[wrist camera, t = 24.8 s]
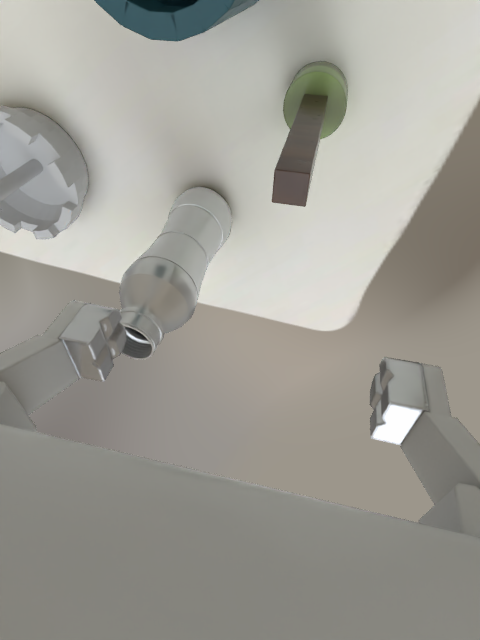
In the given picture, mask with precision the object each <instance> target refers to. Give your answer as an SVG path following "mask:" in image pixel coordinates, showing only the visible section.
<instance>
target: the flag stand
mask: <svg viewBox="0 0 480 640" xmlns="http://www.w3.org/2000/svg"><path fill="white" fill-rule="evenodd" d="M88 184H89V182H88V172H87V167H86V164H85V161H84V159H83V156H82V154H81V152H80V151H79V149H78V147H77V145H76V144H75V143H74V141H73V140H72V139H71V137H70V136H69V135H68V134H67V133H66V132H65V131H64V130H63V129H62V128H61V127H60V126H59V125H58V124H57V123H55V122H54V121H53V120H52V119H50V118H48V117H47V116H45V115H43V114H41V113H40V112H37V111H34V110H31V109H28V108H21V107H18V108H10V107H6V106H0V225H1V226H2V227H4V228H6V229H8V230H10V231H12V232H14V233H16V232H17V231H18V230H20V229H21V228H23V229H26V230H28V231H31V232H33V233H34V235H35V238H36V239H50V238H54V237H55V236H56V235H57V234H58V233H60V232H61V231H63V230H65V229H67V228H68V227H69V226H70V225H71V224H72V223H73V222H74V221H75V220H76V219H77V218H78V216H79V214H80V212H81V210H82V206H83V201H84V197H85V195H86V193H87V190H88Z"/></svg>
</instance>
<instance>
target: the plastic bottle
mask: <svg viewBox="0 0 480 640" xmlns="http://www.w3.org/2000/svg"><path fill="white" fill-rule="evenodd" d="M231 224H232V215H231V211H230V208H229V206H228V204H227V202H226V201H225V200H224V199H223V197H221V196H220V195H219V194H218V193H216V192H215V191H213V190H211V189H209V188H205V187H194V188H190V189H188V190H186V191H185V192H184V193H182V194H181V195H180V196H179V197H177V199H176V200H175V201H174V203H173V206H172V208H171V210H170V213H169V216H168V220H167V222H166V224H165V226H164V228H163V230H162V232H161V234H160V235H159V236H158V238H157V239H156V240H155V241H154V243H153V244H152V245H151V246H150V248H149V249H148V250H147V251H146V252H145V253H143V254H142V255H141V256H140V257H139V258H138V259H137V260H136V261H135V262H134V263H133V264H132V265H131V266H130V267H129V268H128V269H127V271H126V272H125V273H124V275H123V277H122V280H121V285H120V291H119V294H120V302H121V307H122V309H121V310H120V313H121V316H122V318H121V320H120V323H121V324H122V325H123V326H124V327H125V330H126V342H125V346H124V349H123V351H122V352H121V353H122V354H123V355H125V356H127V357H130V358H133V359H138V360H144V359H147V358H150V357H151V356H152V355H153V354H154V352H155V350H156V348H157V346H158V345H159V344H160V343H161V341H162V339H163V337H164V334H165V333H169V332H171V331H174V330H176V329H178V328H180V327H182V326H183V325H184V324H185V323H186V322H187V321H188V320H189V319H190V318H191V317H192V315H193V313H194V310H195V307H196V304H197V300H198V296H199V292H200V288H201V284H202V281H203V278H204V275H205V272H206V270H207V267H208V265H209V263H210V261H211V260H212V258H213V257H214V255H215V254H216V252H217V251H218V250H219V249H220V248H221V247H222V246H223V244H224V243H225V241H226V240H227V238H228V237H229V234H230V231H231Z"/></svg>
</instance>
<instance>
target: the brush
mask: <svg viewBox="0 0 480 640" xmlns="http://www.w3.org/2000/svg"><path fill="white" fill-rule="evenodd" d="M347 96H348V87H347V82H346V79H345V77H344V75H343V73H342V72H341V70H340V69H339V68H338V67H336V66H335V65H333V64H331V63H328V62H323V61H319V62H313V63H310V64H308V65H306V66H305V67H303V68H302V69H301V70H300V71H299V72H298V73H297V75H296V76H295V77H294V79H293V81H292V83H291V85H290V87H289V89H288V91H287V93H286V96H285V99H284V105H283V111H284V117H285V121H286V123H287V125H288V127H289V128H290V132H289V135H288V137H287V140H286V142H285V145H284V147H283V150H282V153H281V155H280V158H279V160H278V163H277V165H276V168H275V172H274V184H273V195H272V202H274V203H281V204H289V205H297V206H304V207H305V206H306V202H307V197H308V192H309V188H310V183H311V179H312V174H313V169H314V165H315V160H316V156H317V151H318V146H319V142H320V139H322V138H325V137H327V136H329V135H330V134H332V133H333V132H334V131H335V130H336V129H337V128H338V127H339V125H340V124H341V122H342V120H343V118H344V116H345V112H346V106H347Z"/></svg>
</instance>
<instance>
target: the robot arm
mask: <svg viewBox="0 0 480 640" xmlns="http://www.w3.org/2000/svg"><path fill="white" fill-rule="evenodd" d="M121 318H122V316H121V313H120V310H118V309H115V308H110V307H105V306H100V305H96V304H91V303H85V302H80V301H75V300H73V301H71V302H69V303H68V304H67V306H66V307H65V308H64V309H63V310H62V312H61V313H60V314H59V315H58V316H57V318H56V319H55V320H54V321H53V323H52V324H51V325H50V326H49V328H48V329H47V330H46V331H45V332H44V334H43V335H42V336H41V335H36V336H34V337H32V338H30V339H28V340H26V341H24V342H22V343H20V344H18V345H16V346H14V347H12V348H10V349H8V350H5V351H3V352H1V353H0V640H480V444H479V443H478V441H477V440H476V439H475V438H474V437H473V436H472V435H471V433H470V432H469V431H468V430H467V429H466V428H465V426H464V425H463V424H462V423H461V422H460V421H459V420H458V418H455V417H451V412H450V407H449V402H448V397H447V392H446V386H445V382H444V377H443V371H442V369H441V367H439V366H433V365H427V364H422V363H421V364H420V363H417V362H411V361H405V360H400V359H394V358H388V357H384V358H383V359H382V361H381V363H380V372H379V373H377V374H375V376H374V379H373V381H372V386H371V390H370V405H371V407H372V408H373V409H374V411H373V413H372V415H371V417H370V435H371V438H372V439H377V440H381V441H385V442H389V443H393V444H398V445H401V446H400V447H401V449H402V450H403V452H404V454H405V455H406V457H407V459H408V461H409V462H410V464H411V466H412V467H413V469H414V471H415V472H416V474H417V476H418V477H419V479H420V481H421V483H422V484H423V486H424V488H425V489H426V491H427V493H428V495H429V496H430V498H431V500H432V501H433V503H434V506H433V507H432V508H431V509H430V510H429V511H428V512H427V513H426V514H425V515H424V516H422V517H421V518H420V520H419V523H418V522H413V521H409V520H405V519H401V518H397V517H392V516H388V515H384V514H380V513H375V512H371V511H367V510H363V509H359V508H354V507H350V506H346V505H342V504H338V503H333V502H329V501H325V500H321V499H317V498H313V497H308V496H304V495H300V494H296V493H292V492H287V491H283V490H279V489H275V488H270V487H266V486H262V485H258V484H254V483H250V482H246V481H241V480H237V479H233V478H229V477H225V476H220V475H216V474H212V473H207V472H203V471H199V470H195V469H191V468H187V467H182V466H178V465H174V464H170V463H166V462H161V461H157V460H153V459H149V458H145V457H140V456H136V455H131V454H128V453H124V452H119V451H115V450H111V449H106V448H103V447H98V446H94V445H90V444H86V443H81V442H77V441H73V440H68V439H65V438H60V437H56V436H52V435H48V434H43V433H39V432H36V425H35V424H34V423H33V421H32V420H31V419H30V417H29V416H28V415H30V414H31V413H33V412H34V411H35V410H37V409H38V408H40V407H41V406H42V405H44V404H45V403H46V402H48V401H49V400H51V399H52V398H53V397H55V396H56V395H58V394H59V393H60V392H62V391H63V390H65V389H66V388H67V387H69V386H70V385H72V384H73V383H74V382H76V381H77V380H79V377H81V378H86V379H92V380H97V381H103V382H104V381H105V380H106V378H107V376H108V375H109V373H110V371H111V369H112V368H113V366H114V364H113V360H112V359H114V358H116V357H117V356H119V355H120V354H121V352H122V351H123V349H124V346H125V342H126V330H125V327H124V326H123V325H122V324H121V323H120V320H121Z"/></svg>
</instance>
